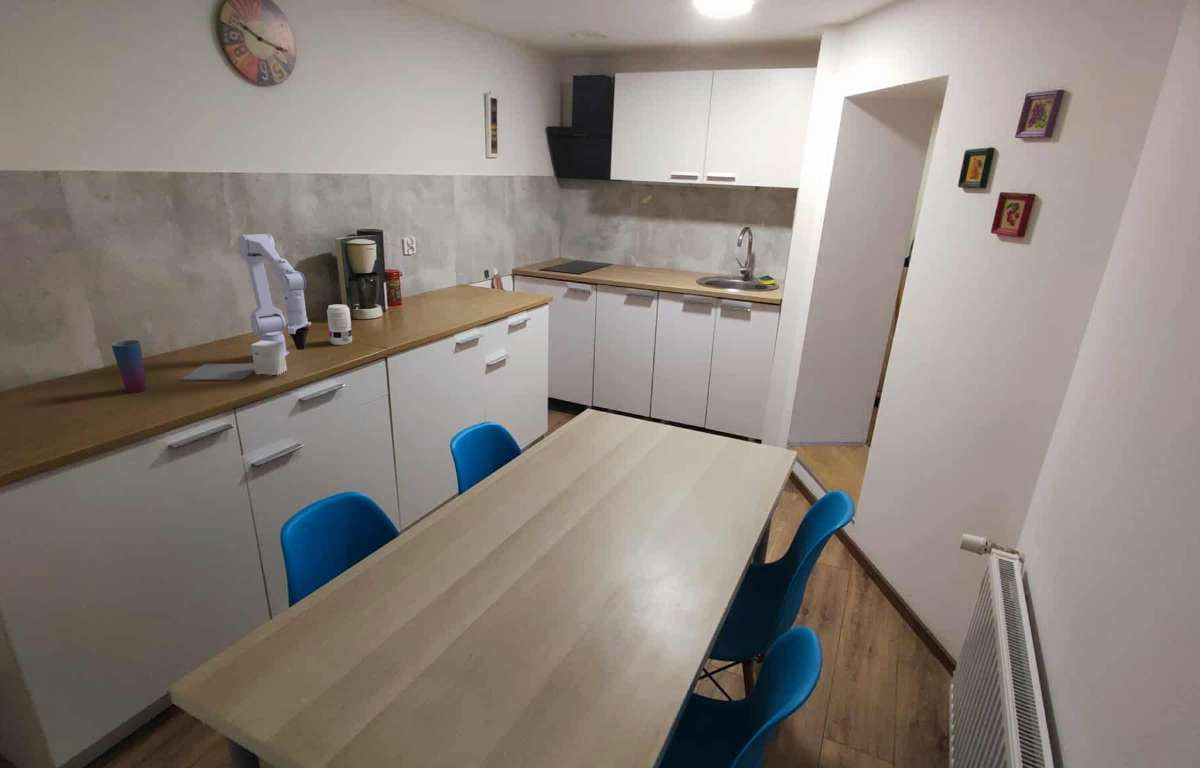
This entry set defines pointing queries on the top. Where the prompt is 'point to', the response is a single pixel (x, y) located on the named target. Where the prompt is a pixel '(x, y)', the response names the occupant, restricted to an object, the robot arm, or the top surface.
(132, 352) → the cup
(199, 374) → the display mat
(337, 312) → the supplement can
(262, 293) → the robot arm
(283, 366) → the small box
